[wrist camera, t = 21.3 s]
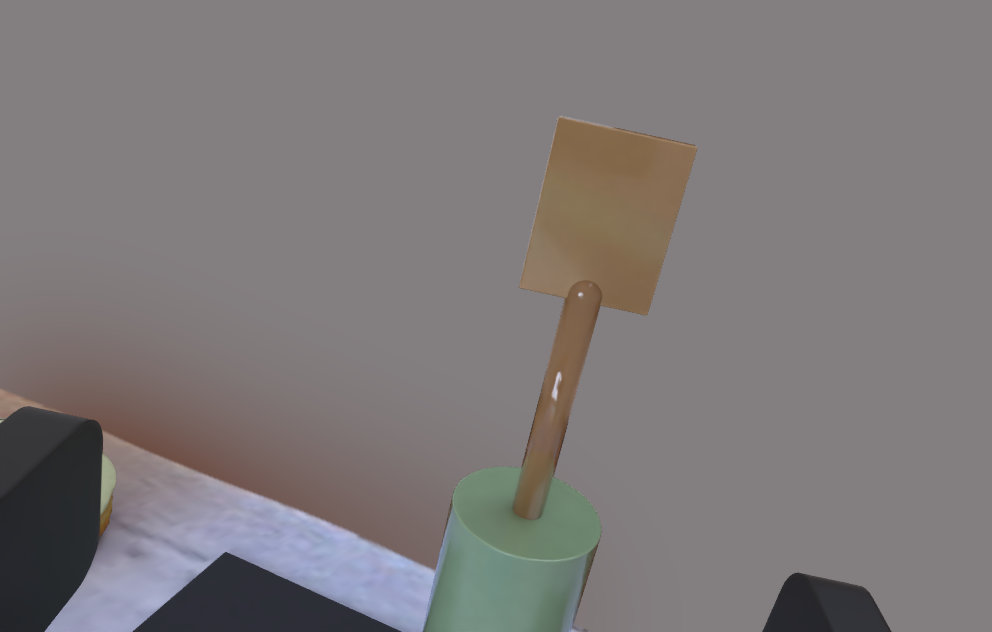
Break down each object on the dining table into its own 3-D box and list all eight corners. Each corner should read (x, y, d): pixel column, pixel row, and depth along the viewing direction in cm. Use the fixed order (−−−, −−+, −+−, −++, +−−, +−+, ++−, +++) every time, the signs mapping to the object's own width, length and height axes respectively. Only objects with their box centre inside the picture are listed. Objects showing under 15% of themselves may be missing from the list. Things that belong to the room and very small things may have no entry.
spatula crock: (389, 787, 29) (536, 123, 20) (411, 674, 34) (538, 100, 25) (530, 815, 29) (737, 168, 20) (532, 699, 34) (700, 136, 25)
